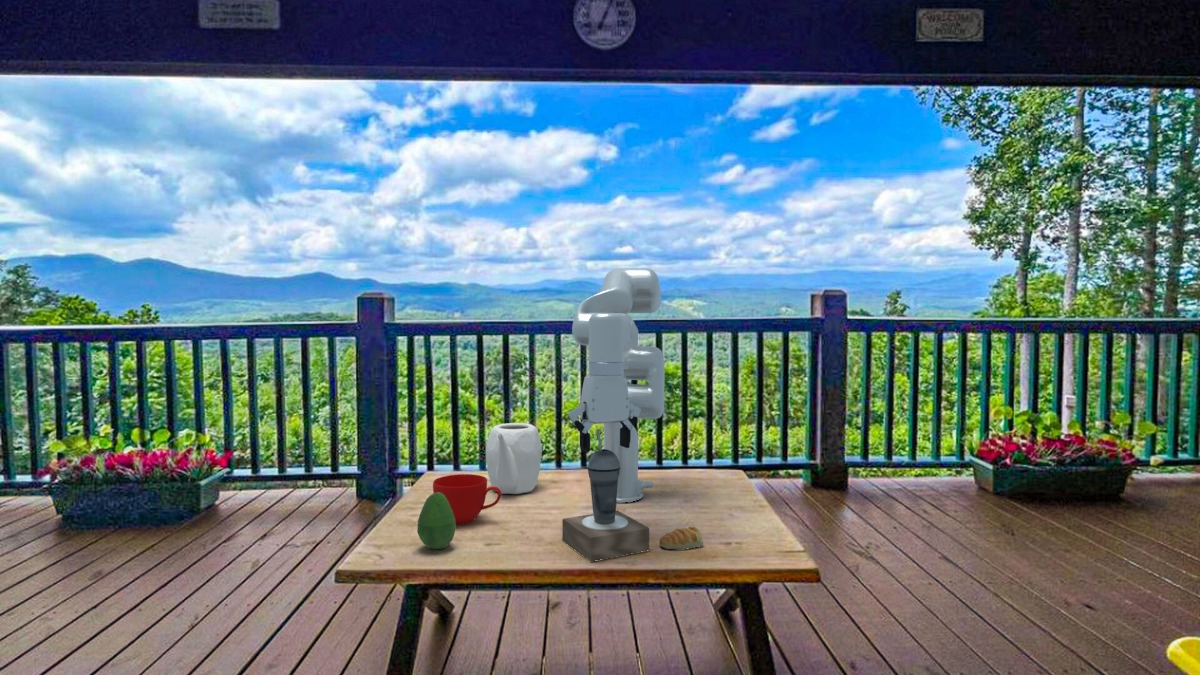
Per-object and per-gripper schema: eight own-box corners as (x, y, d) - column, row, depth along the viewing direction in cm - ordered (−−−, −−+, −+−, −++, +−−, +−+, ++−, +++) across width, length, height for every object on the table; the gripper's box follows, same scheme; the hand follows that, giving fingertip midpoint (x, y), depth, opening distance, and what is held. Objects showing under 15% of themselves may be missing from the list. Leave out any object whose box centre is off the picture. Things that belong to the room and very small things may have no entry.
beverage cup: (618, 526, 133) (616, 431, 133) (584, 524, 134) (583, 431, 134) (623, 516, 140) (622, 427, 140) (591, 515, 141) (590, 426, 141)
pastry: (669, 554, 133) (669, 536, 133) (652, 544, 139) (653, 527, 139) (705, 548, 137) (706, 530, 137) (688, 538, 143) (688, 522, 143)
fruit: (444, 539, 141) (443, 486, 140) (462, 548, 135) (462, 493, 135) (411, 547, 135) (410, 492, 135) (428, 558, 130) (428, 500, 129)
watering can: (471, 503, 169) (471, 433, 168) (500, 479, 195) (500, 418, 195) (527, 506, 167) (527, 435, 166) (549, 481, 193) (549, 419, 193)
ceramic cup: (491, 532, 146) (491, 489, 145) (423, 527, 149) (423, 485, 148) (509, 515, 158) (509, 476, 158) (446, 511, 161) (446, 472, 161)
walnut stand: (617, 531, 146) (617, 508, 146) (649, 551, 134) (649, 526, 134) (562, 541, 140) (562, 516, 140) (590, 562, 128) (590, 536, 127)
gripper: (631, 368, 143) (631, 442, 144) (562, 370, 135) (561, 449, 136) (648, 370, 137) (648, 448, 137) (577, 372, 129) (576, 455, 129)
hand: (605, 448), depth 137 cm, fingers open, 9 cm apart
